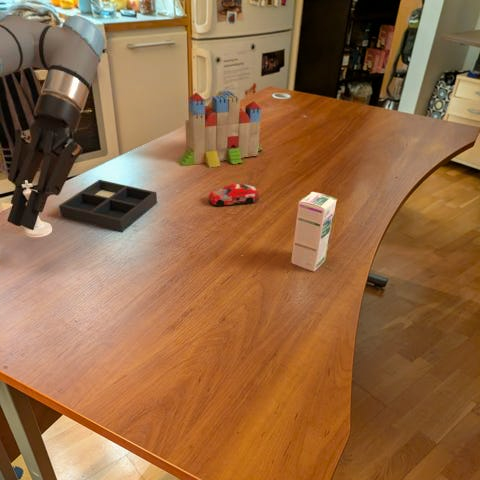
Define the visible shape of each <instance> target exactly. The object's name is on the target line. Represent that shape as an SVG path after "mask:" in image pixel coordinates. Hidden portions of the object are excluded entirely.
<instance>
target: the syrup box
mask: <svg viewBox="0 0 480 480" xmlns="http://www.w3.org/2000/svg"><path fill="white" fill-rule="evenodd" d="M337 200H338V199H337V198H335V197H333V196H330V195H327V194H324V193H320V192H315V191H311V192H310V193H309V194H308V195H306V196H305V197H303V198H301V200H299V201H298V205H297V214H296V221H295V228H294V237H293V245H292V250H291V251H292V252H291V259H290V263H291V264H293V265H295V266H298V267H300V268H302V269H305V270H308V271H311V272H313V273H314V272H316V270H317V269H319V268H320V267H321V266H322V265H323V264H324V263H325V261H327V256H328V251H329V245H330V239H331V233H332V228H333V222H334V218H335V211H336V208H337V207H336V206H337Z"/></svg>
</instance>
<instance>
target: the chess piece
mask: <svg viewBox="0 0 480 480" xmlns="http://www.w3.org/2000/svg"><path fill="white" fill-rule="evenodd" d="M24 187H26V188H27V189H26V190H24V191H23V194H24V196H25V197H26V199H27V200H28V199H29V196H30V193H31V191H32V190H33V191H35V189H34V185H33V182H32V183H31V184H28V181H27V180H26V181H25V184H22V188H24ZM29 187H30V189H29ZM26 205H27V202H26ZM23 229H24V230H23V231H24V235H25V236H27V237H29V238H43V237H46V236H48V235H50V234H51V233H52V232H53V227H52V225H51V223H49V222H46V221H43V220H41V218H40V214H39V215H38V218H37V221H36V224H35V227H34V230H30V229H28V228H26V227H24V228H23Z"/></svg>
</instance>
